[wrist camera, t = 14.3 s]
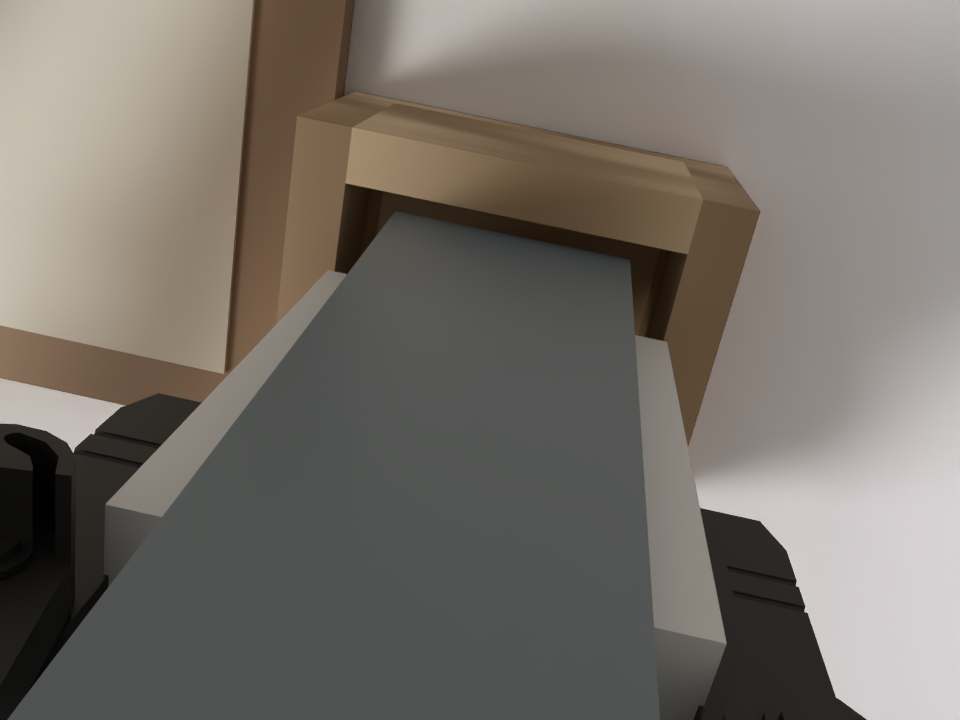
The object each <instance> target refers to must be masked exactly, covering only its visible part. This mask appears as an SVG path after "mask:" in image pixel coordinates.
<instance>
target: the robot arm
mask: <svg viewBox="0 0 960 720" xmlns="http://www.w3.org/2000/svg"><path fill="white" fill-rule="evenodd" d="M346 275H347V274H344V273H340V272H335V271H330V270H328V271H327V272H326V273H325V274H324V275H323V276H322V277H321V278H320V279H319V280H318V281H317V282H316V283H315V284H314V285H313V286H312V287H311V289H310V290H309V291H308V292H307V293H306V294H305V295H304V296H303V297H302V298H301V299H300V300H299V301H298V302H297V303H296V304H295V305H294V306H293V307H292V309H291V310H290V311H289V312H288V313H287V314H286V315H285V316H284V317H283V318H282V319H281V320H280V321H279V322H278V323H277V324H276V325H275V326H274V327H273V328H272V330H271V331H270V332H269V333H268V334H267V335H266V336H265V337H264V338H263V339H262V340H261V341H260V342H259V343H258V344H257V345H256V346H255V347H254V348H253V350H252V351H251V352H250V353H249V354H248V355H247V356H246V357H245V358H244V359H243V360H242V361H241V362H240V363H239V364H238V365H237V366H236V367H235V368H234V370H233V371H232V372H231V373H230V374H229V375H228V376H227V377H226V378H225V379H224V380H223V381H222V382H221V383H220V384H219V385H218V386H217V387H216V388H215V389H214V391H213V392H212V393H211V394H210V395H209V396H208V397H207V398H206V399H205V400H204V401H203V402H197V401H193V400H188V399H184V398H179V397H175V396H170V395H165V394H161V393H157V394H155V395H152V396H150V397H147V398H144V399H142V400H139V401H137V402H134V403H132V404H129V405H126V406H124V407H121V408H120V409H119V410H117V411H116V412H115V413H114V414H113V415H112V416H111V417H109V418H108V419H107V420H106V421H105V422H104V423H103V424H102V425H100V426H99V427H98V428H97V429H96V431H95V434H94V435H93V434H90V435H89V436H88V437H87V438H86V439H85V440H83V441H82V442H81V443H80V444H79V445H78V446H77V447H75V451H74V453H73V452H72V451H71V449H70V447H69V445H68V444H67V443H66V442H64V441H63V440H61V439H59V438H57V437H56V436H54V435H52V434H50V433H48V432H47V431H43V430H39V429H35V428H30V427H26V426H22V425H18V424H0V720H7V719H8V718H9V717H10V715H11V714H12V713H13V711H14V710H15V709H16V708H17V706H18V705H19V704H20V702H21V701H22V700H23V698H24V697H25V696H26V694H27V693H28V692H29V691H30V689H31V688H32V687H33V685H34V684H35V683H36V681H37V680H38V679H39V677H40V676H41V675H42V673H43V672H44V671H45V670H46V668H47V667H48V666H49V664H50V663H51V662H52V660H53V659H54V658H55V656H56V655H57V654H58V653H59V651H60V650H61V649H62V647H63V646H64V645H65V643H66V642H67V641H68V639H69V638H70V637H71V636H72V634H73V633H74V632H75V630H76V629H77V628H78V626H79V625H80V624H81V622H82V621H83V620H84V618H85V617H86V616H87V615H88V613H89V612H90V611H91V609H92V608H93V607H94V605H95V604H96V603H97V601H98V600H99V599H100V598H101V596H102V595H103V594H104V592H105V591H106V590H107V588H108V587H109V586H110V584H111V583H112V582H113V580H114V579H115V578H116V577H117V575H118V574H119V573H120V571H121V570H122V569H123V567H124V566H125V565H126V563H127V562H128V561H129V560H130V558H131V557H132V556H133V554H134V553H135V552H136V550H137V549H138V548H139V546H140V545H141V544H142V542H143V541H144V540H145V539H146V537H147V536H148V535H149V533H150V532H151V531H152V529H153V528H154V527H155V525H156V524H157V523H158V522H159V520H160V519H161V518H162V516H163V515H164V514H165V512H166V511H167V510H168V508H169V507H170V506H171V504H172V503H173V502H174V501H175V499H176V498H177V497H178V495H179V494H180V493H181V491H182V490H183V489H184V487H185V486H186V485H187V484H188V482H189V481H190V480H191V478H192V477H193V476H194V474H195V473H196V472H197V470H198V469H199V468H200V466H201V465H202V464H203V463H204V461H205V460H206V459H207V457H208V456H209V455H210V453H211V452H212V451H213V449H214V448H215V447H216V446H217V444H218V443H219V442H220V440H221V439H222V438H223V436H224V435H225V434H226V432H227V431H228V430H229V429H230V427H231V426H232V425H233V423H234V422H235V421H236V419H237V418H238V417H239V415H240V414H241V413H242V411H243V410H244V409H245V408H246V406H247V405H248V404H249V402H250V401H251V400H252V398H253V397H254V396H255V394H256V393H257V392H258V391H259V389H260V388H261V387H262V385H263V384H264V383H265V381H266V380H267V379H268V377H269V376H270V375H271V373H272V372H273V371H274V370H275V368H276V367H277V366H278V364H279V363H280V362H281V360H282V359H283V358H284V356H285V355H286V354H287V353H288V351H289V350H290V349H291V347H292V346H293V345H294V343H295V342H296V341H297V339H298V338H299V337H300V335H301V334H302V333H303V332H304V330H305V329H306V328H307V326H308V325H309V324H310V322H311V321H312V320H313V318H314V317H315V316H316V315H317V313H318V312H319V311H320V309H321V308H322V307H323V305H324V304H325V303H326V301H327V300H328V299H329V297H330V296H331V295H332V294H333V292H334V291H335V290H336V288H337V287H338V286H339V284H340V283H341V282H342V280H343V279H344V278H345V277H346ZM635 343H636V358H637V374H638V389H639V404H640V420H641V435H642V450H643V466H644V481H645V496H646V512H647V527H648V542H649V558H650V573H651V588H652V604H653V619H654V634H655V650H656V665H657V680H658V696H659V711H660V720H866V719H865V718H864V717H862V716H861V715H860V714H858V713H857V712H855V711H854V710H853V709H851V708H850V707H849V706H847V705H846V704H845V703H843V702H842V701H841V700H839V699H837V698H836V697H835V694H834V691H833V688H832V685H831V682H830V679H829V676H828V673H827V670H826V667H825V664H824V661H823V658H822V655H821V652H820V649H819V646H818V643H817V640H816V637H815V634H814V631H813V628H812V625H811V622H810V619H809V616H808V613H805V612H804V609H805V605H804V602H803V599H802V596H801V593H800V590H799V587H796V578H795V575H794V572H793V569H792V566H791V563H790V560H789V557H788V554H787V551H786V550H785V549H784V548H783V547H782V545H781V544H780V543H779V542H778V541H777V540H776V539H775V538H774V537H773V535H772V534H771V533H770V532H769V531H768V530H767V529H766V528H765V527H764V525H763V524H762V523H761V522H760V521H756V520H752V519H747V518H743V517H738V516H733V515H729V514H724V513H720V512H715V511H711V510H706V509H702V508H700V506H699V501H698V496H697V491H696V486H695V481H694V476H693V471H692V466H691V461H690V456H689V450H688V445H687V440H686V435H685V430H684V425H683V420H682V415H681V410H680V405H679V400H678V395H677V390H676V385H675V380H674V375H673V369H672V364H671V359H670V354H669V349H668V344H667V342H666V341H661V340H656V339H651V338H647V337H642V336H637V335H635Z"/></svg>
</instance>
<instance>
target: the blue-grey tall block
mask: <svg viewBox="0 0 960 720" xmlns="http://www.w3.org/2000/svg"><path fill="white" fill-rule="evenodd" d="M7 720H660V711H659V696H658V680H657V665H656V650H655V634H654V619H653V604H652V588H651V573H650V558H649V542H648V527H647V512H646V496H645V481H644V466H643V450H642V435H641V420H640V404H639V389H638V374H637V358H636V343H635V328H634V312H633V297H632V282H631V266H630V260H629V259H624V258H619V257H615V256H610V255H605V254H600V253H595V252H591V251H586V250H581V249H576V248H571V247H567V246H562V245H557V244H552V243H547V242H543V241H538V240H533V239H528V238H523V237H519V236H514V235H509V234H504V233H499V232H495V231H490V230H485V229H480V228H475V227H471V226H466V225H461V224H456V223H451V222H447V221H442V220H437V219H432V218H427V217H423V216H418V215H413V214H408V213H403V212H399V211H395V212H394V214H393V215H392V216H391V218H390V219H389V220H388V221H387V223H386V224H385V225H384V227H383V228H382V229H381V231H380V232H379V233H378V235H377V236H376V237H375V239H374V240H373V241H372V242H371V244H370V245H369V246H368V248H367V249H366V250H365V252H364V253H363V254H362V256H361V257H360V258H359V259H358V261H357V262H356V263H355V265H354V266H353V267H352V269H351V270H350V271H349V273H348V274H347V275H346V277H345V278H344V279H343V280H342V282H341V283H340V284H339V286H338V287H337V288H336V290H335V291H334V292H333V294H332V295H331V296H330V297H329V299H328V300H327V301H326V303H325V304H324V305H323V307H322V308H321V309H320V311H319V312H318V313H317V315H316V316H315V317H314V318H313V320H312V321H311V322H310V324H309V325H308V326H307V328H306V329H305V330H304V332H303V333H302V334H301V335H300V337H299V338H298V339H297V341H296V342H295V343H294V345H293V346H292V347H291V349H290V350H289V351H288V353H287V354H286V355H285V356H284V358H283V359H282V360H281V362H280V363H279V364H278V366H277V367H276V368H275V370H274V371H273V372H272V373H271V375H270V376H269V377H268V379H267V380H266V381H265V383H264V384H263V385H262V387H261V388H260V389H259V391H258V392H257V393H256V394H255V396H254V397H253V398H252V400H251V401H250V402H249V404H248V405H247V406H246V408H245V409H244V410H243V411H242V413H241V414H240V415H239V417H238V418H237V419H236V421H235V422H234V423H233V425H232V426H231V427H230V429H229V430H228V431H227V432H226V434H225V435H224V436H223V438H222V439H221V440H220V442H219V443H218V444H217V446H216V447H215V448H214V449H213V451H212V452H211V453H210V455H209V456H208V457H207V459H206V460H205V461H204V463H203V464H202V465H201V466H200V468H199V469H198V470H197V472H196V473H195V474H194V476H193V477H192V478H191V480H190V481H189V482H188V484H187V485H186V486H185V487H184V489H183V490H182V491H181V493H180V494H179V495H178V497H177V498H176V499H175V501H174V502H173V503H172V504H171V506H170V507H169V508H168V510H167V511H166V512H165V514H164V515H163V516H162V518H161V519H160V520H159V522H158V523H157V524H156V525H155V527H154V528H153V529H152V531H151V532H150V533H149V535H148V536H147V537H146V539H145V540H144V541H143V542H142V544H141V545H140V546H139V548H138V549H137V550H136V552H135V553H134V554H133V556H132V557H131V558H130V560H129V561H128V562H127V563H126V565H125V566H124V567H123V569H122V570H121V571H120V573H119V574H118V575H117V577H116V578H115V579H114V580H113V582H112V583H111V584H110V586H109V587H108V588H107V590H106V591H105V592H104V594H103V595H102V596H101V598H100V599H99V600H98V601H97V603H96V604H95V605H94V607H93V608H92V609H91V611H90V612H89V613H88V615H87V616H86V617H85V618H84V620H83V621H82V622H81V624H80V625H79V626H78V628H77V629H76V630H75V632H74V633H73V634H72V636H71V637H70V638H69V639H68V641H67V642H66V643H65V645H64V646H63V647H62V649H61V650H60V651H59V653H58V654H57V655H56V656H55V658H54V659H53V660H52V662H51V663H50V664H49V666H48V667H47V668H46V670H45V671H44V672H43V673H42V675H41V676H40V677H39V679H38V680H37V681H36V683H35V684H34V685H33V687H32V688H31V689H30V691H29V692H28V693H27V694H26V696H25V697H24V698H23V700H22V701H21V702H20V704H19V705H18V706H17V708H16V709H15V710H14V711H13V713H12V714H11V715H10V717H9V718H8V719H7Z"/></svg>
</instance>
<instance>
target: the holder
mask: <svg viewBox="0 0 960 720" xmlns="http://www.w3.org/2000/svg"><path fill="white" fill-rule="evenodd" d="M395 211H399V212H403V213H408V214H413V215H418V216H423V217H427V218H432V219H437V220H442V221H447V222H451V223H456V224H461V225H466V226H471V227H475V228H480V229H485V230H490V231H495V232H499V233H504V234H509V235H514V236H519V237H523V238H528V239H533V240H538V241H543V242H547V243H552V244H557V245H562V246H567V247H571V248H576V249H581V250H586V251H591V252H595V253H600V254H605V255H610V256H615V257H619V258H624V259H629V260H630V266H631V282H632V297H633V312H634V328H635V335H637V336H642V337H647V338H651V339H656V340H661V341H666V342H667V344H668V349H669V354H670V359H671V364H672V369H673V375H674V380H675V385H676V390H677V395H678V400H679V405H680V410H681V415H682V420H683V425H684V430H685V435H686V440H687V445H689V442H690V439H691V436H692V432H693V429H694V426H695V422H696V419H697V416H698V413H699V409H700V406H701V403H702V400H703V396H704V393H705V390H706V387H707V383H708V380H709V377H710V374H711V370H712V367H713V364H714V360H715V357H716V354H717V351H718V347H719V344H720V341H721V338H722V334H723V331H724V328H725V325H726V321H727V318H728V315H729V312H730V308H731V305H732V302H733V298H734V295H735V292H736V289H737V285H738V282H739V279H740V276H741V272H742V269H743V266H744V263H745V259H746V256H747V253H748V250H749V246H750V243H751V240H752V236H753V233H754V230H755V227H756V223H757V220H758V217H759V214H760V210H759V209H758V208H757V206H756V205H755V204H754V202H753V201H752V199H751V198H750V197H749V195H748V194H747V193H746V191H745V190H744V189H743V187H742V186H741V185H740V183H739V182H738V180H737V179H736V178H735V176H734V175H733V174H732V172H731V171H730V170H729V168H728V167H724V166H719V165H714V164H709V163H704V162H699V161H695V160H690V159H685V158H680V157H675V156H670V155H665V154H660V153H655V152H650V151H645V150H641V149H636V148H631V147H626V146H621V145H616V144H611V143H606V142H601V141H596V140H592V139H587V138H582V137H577V136H572V135H567V134H562V133H557V132H552V131H547V130H542V129H538V128H533V127H528V126H523V125H518V124H513V123H508V122H503V121H498V120H493V119H488V118H484V117H479V116H474V115H469V114H464V113H459V112H454V111H449V110H444V109H439V108H434V107H430V106H425V105H420V104H415V103H410V102H405V101H400V100H395V99H390V98H385V97H380V96H376V95H371V94H366V93H361V92H356V91H355V92H353V93H350V94H348V95H346V96H343V97H341V98H339V99H336V100H334V101H331V102H329V103H327V104H324V105H322V106H320V107H317V108H315V109H313V110H310V111H308V112H306V113H303V114H301V115H299V116H297V122H296V132H295V142H294V152H293V162H292V172H291V182H290V192H289V202H288V212H287V222H286V231H285V241H284V251H283V261H282V271H281V281H280V291H279V301H278V311H277V321H276V324H277V323H278V322H279V321H280V320H281V319H282V318H283V317H284V316H285V315H286V314H287V313H288V312H289V311H290V310H291V309H292V307H293V306H294V305H295V304H296V303H297V302H298V301H299V300H300V299H301V298H302V297H303V296H304V295H305V294H306V293H307V292H308V291H309V290H310V289H311V287H312V286H313V285H314V284H315V283H316V282H317V281H318V280H319V279H320V278H321V277H322V276H323V275H324V274H325V273H326V272H327V271H328V270H330V271H335V272H340V273H344V274H348V273H349V271H350V270H351V269H352V267H353V266H354V265H355V263H356V262H357V261H358V259H359V258H360V257H361V256H362V254H363V253H364V252H365V250H366V249H367V248H368V246H369V245H370V244H371V242H372V241H373V240H374V239H375V237H376V236H377V235H378V233H379V232H380V231H381V229H382V228H383V227H384V225H385V224H386V223H387V221H388V220H389V219H390V218H391V216H392V215H393V214H394V212H395Z"/></svg>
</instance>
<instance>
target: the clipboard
mask: <svg viewBox="0 0 960 720" xmlns="http://www.w3.org/2000/svg"><path fill="white" fill-rule="evenodd" d="M354 2H355V0H0V378H3V379H8V380H12V381H17V382H21V383H26V384H31V385H35V386H40V387H44V388H49V389H53V390H58V391H62V392H67V393H72V394H76V395H81V396H85V397H90V398H94V399H99V400H103V401H108V402H113V403H117V404H122V405H129V404H132V403H134V402H137V401H139V400H142V399H144V398H147V397H150V396H152V395H155V394H157V393H161V394H165V395H170V396H175V397H179V398H184V399H188V400H193V401H197V402H203V401H204V400H205V399H206V398H207V397H208V396H209V395H210V394H211V393H212V392H213V391H214V389H215V388H216V387H217V386H218V385H219V384H220V383H221V382H222V381H223V380H224V379H225V378H226V377H227V376H228V375H229V374H230V373H231V372H232V371H233V370H234V368H235V367H236V366H237V365H238V364H239V363H240V362H241V361H242V360H243V359H244V358H245V357H246V356H247V355H248V354H249V353H250V352H251V351H252V350H253V348H254V347H255V346H256V345H257V344H258V343H259V342H260V341H261V340H262V339H263V338H264V337H265V336H266V335H267V334H268V333H269V332H270V331H271V330H272V328H273V327H274V326H275V325H276V321H277V311H278V301H279V291H280V281H281V271H282V261H283V251H284V241H285V231H286V222H287V212H288V202H289V192H290V182H291V172H292V162H293V152H294V142H295V132H296V122H297V116H299V115H301V114H303V113H306V112H308V111H310V110H313V109H315V108H317V107H320V106H322V105H324V104H327V103H329V102H331V101H334V100H336V99H339V98H341V97H343V95H344V86H345V78H346V69H347V61H348V53H349V44H350V36H351V27H352V19H353V11H354Z"/></svg>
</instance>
